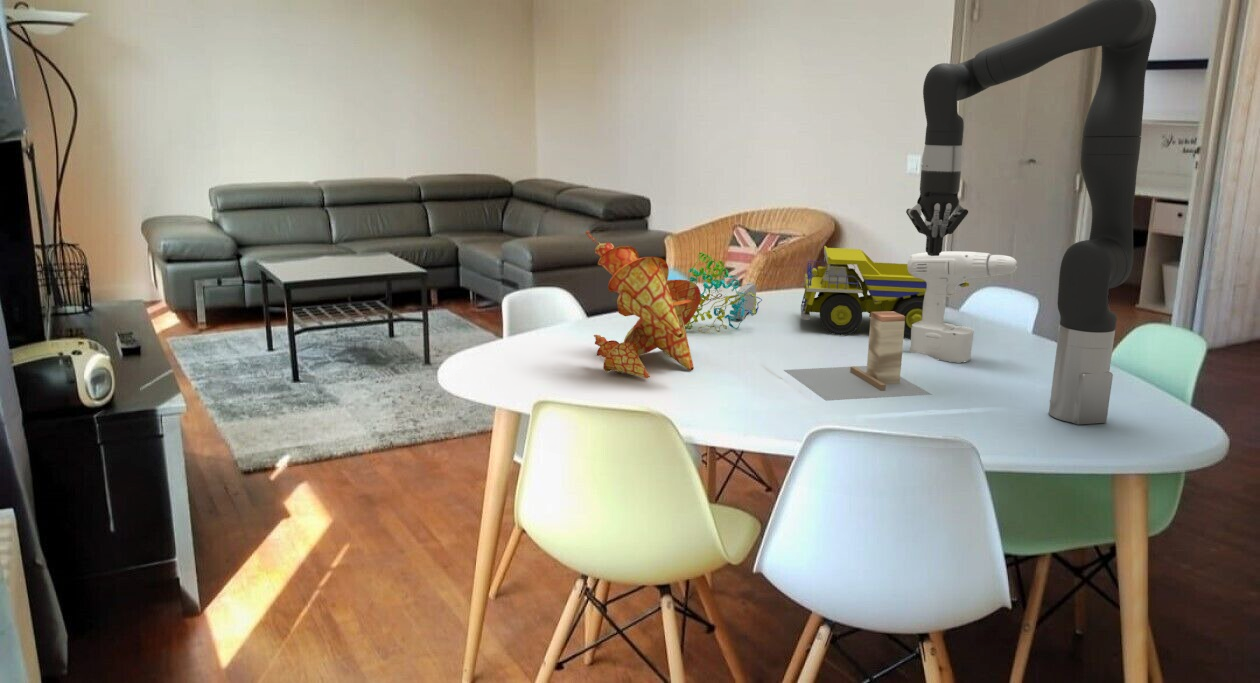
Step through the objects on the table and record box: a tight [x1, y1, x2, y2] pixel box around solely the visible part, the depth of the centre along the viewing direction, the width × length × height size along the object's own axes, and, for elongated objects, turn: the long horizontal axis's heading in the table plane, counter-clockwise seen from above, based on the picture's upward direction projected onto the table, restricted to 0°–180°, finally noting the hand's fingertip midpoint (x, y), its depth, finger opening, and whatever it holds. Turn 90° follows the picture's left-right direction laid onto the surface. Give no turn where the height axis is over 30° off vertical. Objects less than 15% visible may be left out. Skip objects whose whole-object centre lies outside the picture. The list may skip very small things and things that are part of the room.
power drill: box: [907, 250, 1018, 363], centre depth 213 cm, size 8×24×25 cm, turn 51°
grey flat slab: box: [733, 281, 757, 321], centre depth 258 cm, size 20×2×8 cm, turn 161°
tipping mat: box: [783, 365, 932, 401], centre depth 193 cm, size 22×22×2 cm
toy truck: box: [800, 245, 970, 339], centre depth 243 cm, size 24×40×20 cm, turn 81°
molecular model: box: [685, 252, 763, 334], centre depth 239 cm, size 23×22×15 cm
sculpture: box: [584, 230, 702, 379], centre depth 205 cm, size 33×28×35 cm
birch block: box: [866, 311, 905, 384], centre depth 192 cm, size 5×5×14 cm
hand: (933, 255), depth 190 cm, fingers closed
